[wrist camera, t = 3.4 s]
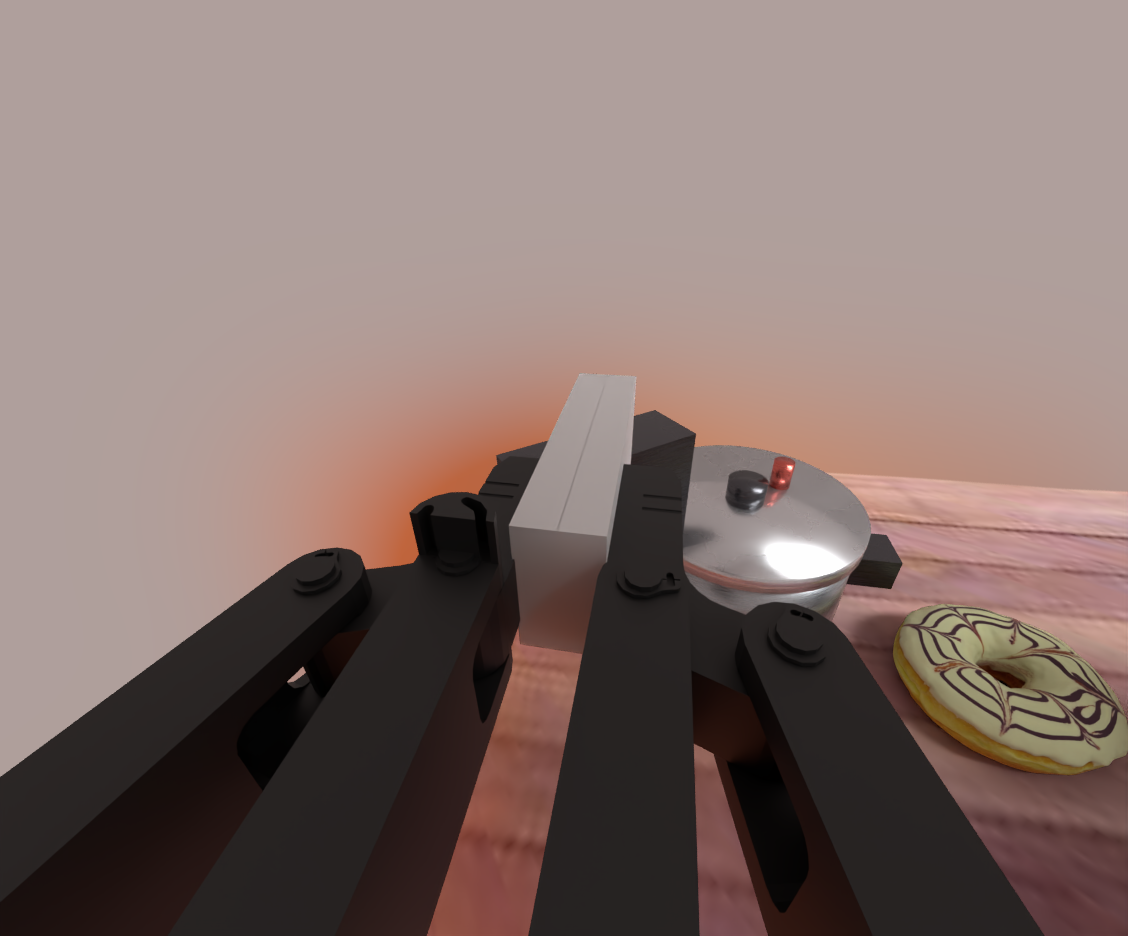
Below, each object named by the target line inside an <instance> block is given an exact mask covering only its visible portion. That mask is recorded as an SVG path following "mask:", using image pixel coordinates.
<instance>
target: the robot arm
mask: <svg viewBox="0 0 1128 936" xmlns="http://www.w3.org/2000/svg"><path fill="white" fill-rule="evenodd" d="M635 389H636V376H620V375H600V374H582V373H580V374H579V376H578V378H577V380H576V383H575V385H574V387H573V389H572V391H571V393H570V395H569V398H568V399H567V402H566V404H565V406H564V408H563V410H562V412H561V415H560V417H559V419H558V421H557V423H556V425H555V427H554V430H553V432H552V434H551V436H550V438H549V440H548V442H547V445H546V447H545V449H544V451H543V453H542V455H541V457H540V458H528V457H517V456H509V457H508V458H506V459H505V460H503V461H502V462H501V463H499V464H498V465H496V466H495V467H494V468H493V469H492V471H491V473H490V474H489V476H488V478H487V479H486V482H485V484H483V486H482V488H481V489H480V491H479V494H478V495H476V494H472V493H468V492H456V493H455V492H454V493H453V492H452V493H447V494H443V495H438V496H434V497H432V498H430V499H428V500H426V501H424V502H422V503H420V504H419V505H418V506H416V508H414V509H413V510H412V511H411V512H410V517H411V521H412V526H413V530H414V534H415V539H416V543H417V547H418V552H419V555H418V557H417V558H416V560H415V561H414V563H411V564H406V565H401V566H393V567H384V568H376V569H367V570H365V567H364V564H363V561H362V559H361V556H360V555H358V554H357V553H355V552H354V551H352V550H349V549H343V548H330V549H320V550H317V551H315V552H312V553H309V554H306V555H303V556H301V557H299V558H298V559H296V560H294V561H293V562H291V563H289V564H287V565H286V566H285V567H283V568H282V569H281V570H279V571H278V572H277V573H275V574H274V575H273V576H271V577H270V578H269V579H267V580H266V581H265V582H263V583H262V584H260V585H259V586H258V587H256V588H255V589H254V590H252V591H251V592H250V593H249V594H247V595H246V596H244V597H243V598H242V599H240V600H239V601H238V602H236V603H235V604H233V605H232V606H231V607H229V608H228V609H227V610H225V611H224V612H223V613H221V614H220V615H219V616H217V617H216V618H214V619H213V620H212V621H211V622H209V623H208V624H206V625H205V626H204V627H202V628H201V629H200V630H198V631H197V632H196V633H194V634H193V635H192V636H190V637H189V638H187V639H186V640H185V641H183V642H182V643H181V644H179V645H178V646H177V647H175V648H174V649H173V650H171V651H170V652H169V653H167V654H166V655H165V656H163V657H162V658H160V659H159V660H158V661H156V662H155V663H154V664H152V665H151V666H150V667H148V668H147V669H146V670H144V671H143V672H142V673H140V674H139V675H137V676H136V677H135V678H133V679H132V680H131V681H129V682H128V683H127V684H125V685H124V686H123V687H121V688H120V689H119V690H117V691H116V692H115V693H114V694H112V695H110V696H109V697H108V698H106V699H105V700H104V701H102V702H101V703H100V704H98V705H97V706H96V707H94V708H93V709H92V710H90V711H89V712H88V713H86V714H85V715H83V716H82V717H81V718H79V719H78V720H77V721H75V722H74V723H73V724H71V725H70V726H69V727H67V728H66V729H65V730H63V731H62V732H61V733H59V734H58V735H57V736H55V737H54V738H53V739H51V740H50V741H48V742H47V743H46V744H44V745H43V746H42V747H40V748H39V749H38V750H36V751H35V752H33V753H32V754H31V755H30V756H28V757H27V758H25V759H24V760H23V761H21V762H20V763H19V764H17V765H16V766H15V767H13V768H12V769H11V770H9V771H8V772H6V773H5V774H4V775H3V776H1V777H0V936H427V933H428V930H429V927H430V924H431V921H432V918H433V915H434V911H435V908H436V905H437V902H438V899H439V896H440V893H441V890H442V887H443V883H444V880H445V877H446V874H447V871H448V868H449V865H450V862H451V859H452V855H453V852H454V849H455V846H456V843H457V840H458V837H459V834H460V830H461V827H462V824H463V821H464V818H465V815H466V812H467V809H468V806H469V802H470V799H471V796H472V793H473V790H474V787H475V784H476V781H477V778H478V774H479V771H480V768H481V765H482V762H483V759H484V756H485V753H486V750H487V746H488V743H489V740H490V737H491V734H492V731H493V728H494V725H495V722H496V718H497V715H498V712H499V709H500V706H501V703H502V700H503V697H504V694H505V690H506V687H507V684H508V681H509V678H510V675H511V671H512V661H513V659H512V650H511V646H512V643H513V640H514V638H515V635H516V632H517V629H518V626H519V636H520V644H523V645H529V646H536V647H542V648H549V649H555V650H561V651H568V652H574V653H581V654H583V655H582V660H581V665H580V670H579V676H578V681H577V686H576V691H575V696H574V702H573V707H572V712H571V717H570V722H569V728H568V733H567V738H566V743H565V748H564V754H563V759H562V764H561V769H560V774H559V780H558V785H557V790H556V795H555V800H554V805H553V811H552V816H551V821H550V826H549V831H548V837H547V842H546V847H545V852H544V857H543V863H542V868H541V873H540V878H539V883H538V889H537V894H536V899H535V904H534V909H533V914H532V920H531V925H530V930H529V935H528V936H700V935H699V903H698V871H697V838H696V806H695V774H694V744H696V745H698V746H700V747H702V748H704V749H706V750H708V751H709V752H711V753H713V754H714V757H715V761H716V764H717V767H718V771H719V774H720V777H721V780H722V784H723V787H724V790H725V794H726V797H727V800H728V804H729V807H730V810H731V814H732V817H733V820H734V824H735V827H736V830H737V834H738V837H739V840H740V844H741V847H742V850H743V854H744V857H745V860H746V864H747V867H748V870H749V874H750V877H751V880H752V884H753V887H754V890H755V894H756V897H757V900H758V904H759V907H760V910H761V913H762V917H763V920H764V923H765V927H766V930H767V933H768V936H1044V934H1043V933H1042V931H1041V930H1040V928H1039V927H1038V925H1037V924H1036V922H1035V921H1034V919H1033V918H1032V916H1031V915H1030V913H1029V912H1028V910H1027V909H1026V907H1025V906H1024V904H1023V902H1022V901H1021V899H1020V898H1019V896H1018V895H1017V893H1016V892H1015V890H1014V889H1013V887H1012V886H1011V884H1010V883H1009V881H1008V880H1007V878H1006V877H1005V875H1004V874H1003V872H1002V871H1001V869H1000V868H999V866H998V865H997V863H996V862H995V860H994V859H993V857H992V856H991V854H990V853H989V851H988V850H987V848H986V847H985V845H984V844H983V842H982V841H981V839H980V838H979V836H978V835H977V833H976V832H975V830H974V829H973V827H972V826H971V824H970V823H969V821H968V820H967V818H966V817H965V815H964V814H963V812H962V810H961V809H960V807H959V806H958V804H957V803H956V801H955V800H954V798H953V797H952V795H951V794H950V792H949V791H948V789H947V788H946V786H945V785H944V783H943V782H942V780H941V779H940V777H939V776H938V774H937V773H936V771H935V770H934V768H933V767H932V765H931V764H930V762H929V761H928V759H927V758H926V756H925V755H924V753H923V752H922V750H921V749H920V747H919V746H918V744H917V743H916V741H915V740H914V738H913V737H912V735H911V734H910V732H909V731H908V729H907V728H906V726H905V725H904V723H903V722H902V720H901V718H900V717H899V715H898V714H897V712H896V711H895V709H894V708H893V706H892V705H891V703H890V702H889V700H888V699H887V697H886V696H885V694H884V693H883V691H882V690H881V688H880V687H879V685H878V684H877V682H876V681H875V679H874V678H873V676H872V675H871V673H870V672H869V670H868V669H867V667H866V666H865V664H864V663H863V661H862V660H861V658H860V657H859V655H858V654H857V652H856V651H855V649H854V648H853V646H852V645H851V643H850V642H849V640H848V639H847V637H846V636H845V635H844V634H843V633H842V632H841V631H840V630H839V629H838V628H837V626H836V625H835V624H834V623H833V622H831V621H829V620H828V619H826V618H825V617H823V616H822V615H820V614H819V613H817V612H816V611H814V610H811V609H808V608H805V607H803V606H800V605H797V604H794V603H784V602H770V603H766V604H761V605H758V606H756V607H755V608H754V609H752V610H751V611H750V612H748V613H747V614H746V615H745V614H743V613H740V612H738V611H735V610H732V609H730V608H727V607H725V606H722V605H720V604H718V603H716V602H714V601H712V600H710V599H708V598H707V597H706V596H704V595H703V594H701V593H700V592H699V591H698V590H697V589H696V588H695V587H694V586H693V585H692V584H691V583H690V581H689V579H688V577H687V576H686V574H685V570H684V565H683V528H682V485H681V481H680V480H679V478H678V477H677V475H676V474H675V473H674V471H673V470H672V469H671V468H666V467H654V466H642V465H631V451H632V436H633V420H634V405H635ZM302 667H304V669H305V671H306V673H305V674H304V675H303V676H301V677H300V678H299V679H297V680H296V681H294V682H290V683H288V682H287V681H288V680H289V679H290V678H291V677H292V676H294V675H295V674H296V673H297V672H298V671H299V670H300V668H302Z"/></svg>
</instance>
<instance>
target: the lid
mask: <svg viewBox="0 0 1128 936" xmlns="http://www.w3.org/2000/svg"><path fill="white" fill-rule="evenodd" d="M695 437H696V434H695V433H694V432H692V431H690V430H689V429H687V428H685V427H683V426H682V425H680V424H678V423H676V422H675V421H673V420H671V419H669V418H668V417H666V416H664V415H662V414H661V413H659V412H657V411H656V410H654V411H650V412H647V413H643V414H640V415H636V416H634V420H633V436H632V451H631V465H642V466H654V467H666V468H671V469H672V470H673V471H674V473H675V474H676V475H677V477H678V478H679V480H680V481H681V485H682V528H683V565H684V570H685V571H687V572H688V573H690V574H692V575H695V576H697V577H699V578H702V579H704V580H707V581H709V582H712V583H716V584H719V585H722V586H725V587H729V588H734V589H738V590H743V591H749V592H757V593H768V594H791V593H802V592H808V591H814V590H817V589H821V588H824V587H828V586H830V585H832V584H834V583H837V582H839V581H841V580H842V579H844V578H845V577H847V576H848V575H850V574H851V573H852V572H853V571H854V570H855V569H856V567H857V566H858V565H859V563H860V561H861V560H862V558H863V556H864V553H865V551H866V548H867V545H868V543H869V539H870V535H871V524H870V521H869V517H868V514H867V512H866V510H865V508H864V506H863V505H862V504H861V502H860V501H859V500H858V498H857V497H856V496H855V495H854V494H853V493H852V492H851V491H850V490H849V489H848V488H847V487H845V486H844V485H843V484H842V483H840V482H839V481H838V480H836V479H835V478H833V477H832V476H830V475H829V474H827V473H825V472H823V471H821V470H819V469H818V468H816V467H814V466H811V465H809V464H807V463H805V462H802V461H800V460H797V459H795V458H791V457H788V456H785V455H782V454H778V453H775V452H771V451H766V450H761V449H756V448H749V447H741V446H722V445H715V446H701V447H694V444H695ZM547 442H548V441H545V442H542V443H538V444H535V445H531V446H527V447H524V448H520V449H517V450H513V451H510V452H506V453H503V454H499V455H497V465H498V464H499V463H501V462H502V461H503V460H505V459H506V458H508V457H509V456H517V457H528V458H540V457H541V455H542V453H543V451H544V449H545V447H546V445H547Z"/></svg>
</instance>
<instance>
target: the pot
mask: <svg viewBox="0 0 1128 936" xmlns="http://www.w3.org/2000/svg"><path fill="white" fill-rule="evenodd" d="M902 564H903V563H902V562H901V560H900V558H899V556H898V554H897V553H896V551H895V549H894V547H893V546H892V544H891V542H890V540H889V539H888V537H887V535H880V534H871V535H870V539H869V543H868V545H867V548H866V551H865V553H864V556H863V558H862V560H861V561H860V563H859V565H858V566H857V567H856V569H855V570H854V571H853V572H852V573H851V574H850V575H848V576H847V577H845V578H844V579H842V580H841V581H839V582H837V583H834V584H832V585H830V586H828V587H824V588H821V589H817V590H814V591H808V592H802V593H791V594H768V593H757V592H749V591H743V590H738V589H734V588H729V587H725V586H722V585H719V584H716V583H712V582H709V581H707V580H704V579H702V578H699V577H697V576H695V575H692V574H690V573H688V572H687V571H685V574H686V576H687V577H688V579H689V581H690V583H691V584H692V585H693V586H694V587H695V588H696V589H697V590H698V591H699V592H700V593H701V594H703V595H704V596H706V597H707V598H708V599H710V600H712V601H714V602H716V603H718V604H720V605H722V606H725V607H727V608H730V609H732V610H735V611H738V612H740V613H743V614H745V615H746V614H747V613H748V612H750V611H751V610H752V609H754V608H755V607H756V606H758V605H761V604H766V603H770V602H784V603H794V604H797V605H800V606H803V607H805V608H808V609H811V610H814V611H816V612H817V613H819V614H820V615H822V616H823V617H825V618H826V619H828V620H829V621H831V622H832V620H833V617H834V615H835V612H836V609H837V607H838V604H839V602H840V599H841V596H842V594H843V591H844V589H845V586H846V584H851V585H860V586H869V587H878V588H887V589H891V588H892V586H893V583H894V581H895V579H896V577H897V575H898V572H899V570H900V568H901V566H902Z"/></svg>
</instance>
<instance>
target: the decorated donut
mask: <svg viewBox="0 0 1128 936" xmlns="http://www.w3.org/2000/svg"><path fill="white" fill-rule="evenodd" d="M893 658H894V662H895V665H896V668H897V670H898V673H899V676H900V678H901V679H902V681H903V682H904V684H905V686H906V688H907V689H908V690H909V693H910V695H911V697H912V698H913V699H914V700H915V702H916V703H917V704H918V705H919V706H920V707H921V708H922V710H923V711H924V712H925V713H926V714H927V716H928V717H930V718H931V719H932V720H933V721H934V722H935V723H936V724H937V725H938V726H940V727H941V728H942V729H943V730H944V731H946V732H947V733H948V734H949V735H951V736H952V737H953V738H954V739H956V740H958V741H959V742H961V743H962V744H963V745H965V746H967V747H968V748H970V749H971V750H973V751H974V752H977V753H979V754H982V755H984V756H986V757H988V758H991V759H993V760H995V761H997V762H999V763H1002V764H1005V765H1008V766H1010V767H1013V768H1016V769H1020V770H1023V771H1028V772H1033V773H1042V774H1058V775H1060V774H1061V775H1077V774H1080V773H1083V772H1086V771H1090V770H1093V769H1097V768H1100V767H1103V766H1109V765H1110V764H1111V762H1112V761H1113V760H1114V759H1117V758H1121V757H1124V756H1125V755H1126V754H1127V752H1128V724H1127V718H1126V716H1125V714H1124V711H1123V709H1122V707H1121V705H1120V703H1119V700H1118V698H1117V697H1116V695H1115V693H1114V692H1113V691H1112V689H1111V688H1110V687H1109V686H1108V685H1107V683H1106V682H1105V681H1104V680H1103V678H1102V677H1101V676H1100V675H1099V674H1098V673H1097V672H1096V671H1095V670H1094V669H1093V667H1092V666H1091V665H1090V664H1089V663H1087V662H1086V661H1085V660H1084V659H1083V658H1082V657H1080V656H1079V655H1078V654H1076V653H1075V652H1074V651H1073V650H1072V649H1071V648H1070V647H1069V646H1068V645H1067V644H1065V643H1064V642H1063V641H1061V640H1060V639H1058V638H1056V637H1055V636H1053V635H1052V634H1050V633H1048V632H1046V631H1043V630H1041V629H1038V628H1036V627H1033V626H1031V625H1029V624H1026V623H1023V622H1021V621H1018V620H1016V619H1013V618H1011V617H1007V616H1004V615H1000V614H997V613H994V612H992V611H990V610H987V609H983V608H979V607H972V606H962V605H951V604H939V605H936V606H928V607H924V608H920V609H918V610H917V611H913V612H911V613H910V614H909V615H907V617H906V618H905V621H904V622H903V623H902V625H901V626H900V628H899V630H898V632H897V634H896V637H895V641H894V648H893ZM995 678H996V679H998V680H1001V681H1003V682H1004V683H1005V684H1006V685H1008V686H1009V687H1010V688H1011V689H1010V688H1008V687H1006V686H1005V685H1003V684H1001V683H1000V682H999V681H997V680H996V679H995Z"/></svg>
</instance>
